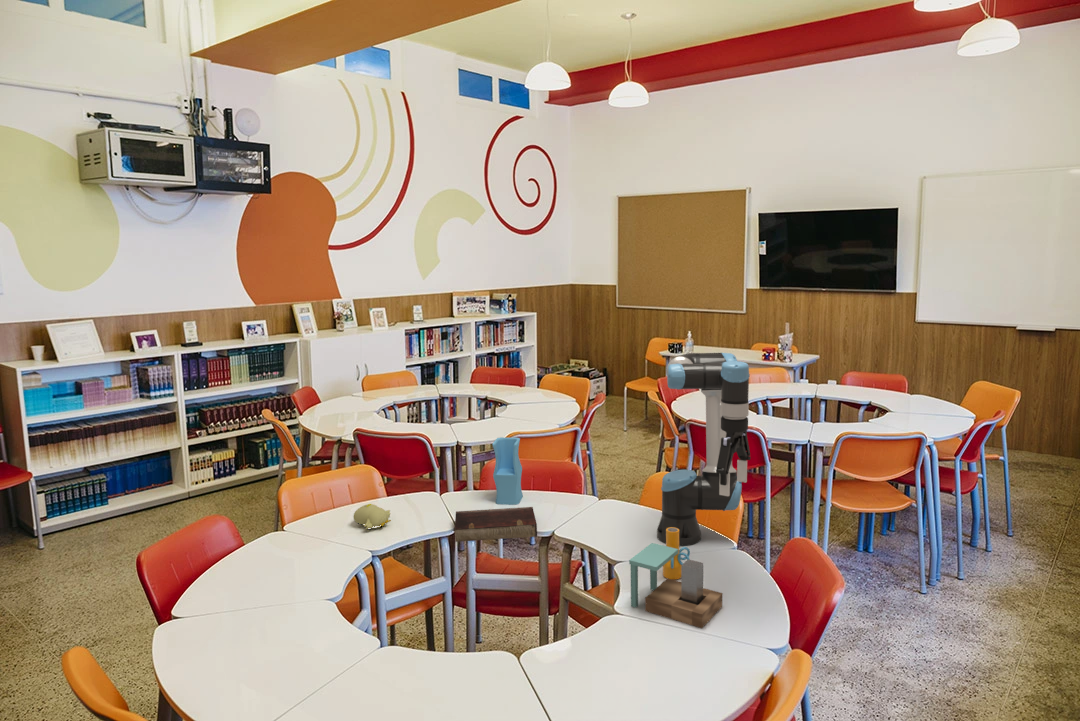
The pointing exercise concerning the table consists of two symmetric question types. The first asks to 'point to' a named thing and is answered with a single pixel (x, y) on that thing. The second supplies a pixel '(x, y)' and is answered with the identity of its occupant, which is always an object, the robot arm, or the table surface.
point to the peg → (692, 582)
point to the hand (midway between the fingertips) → (733, 488)
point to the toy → (371, 516)
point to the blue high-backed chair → (507, 471)
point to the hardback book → (495, 524)
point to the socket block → (682, 604)
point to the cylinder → (675, 564)
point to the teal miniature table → (649, 566)
